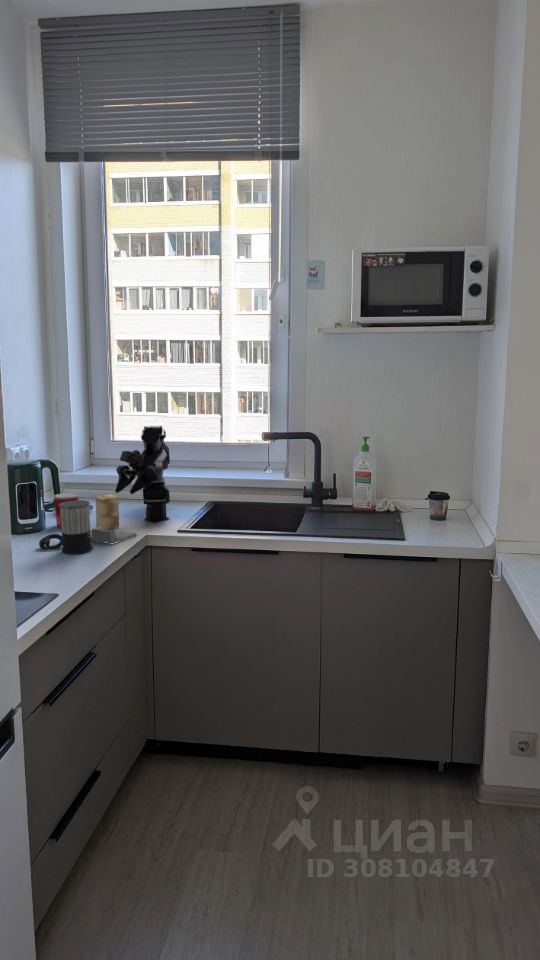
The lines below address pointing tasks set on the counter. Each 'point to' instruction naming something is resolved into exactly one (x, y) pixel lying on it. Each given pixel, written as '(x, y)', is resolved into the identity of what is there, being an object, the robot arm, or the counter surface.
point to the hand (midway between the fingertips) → (123, 492)
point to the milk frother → (72, 529)
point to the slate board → (110, 535)
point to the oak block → (107, 512)
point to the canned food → (59, 499)
